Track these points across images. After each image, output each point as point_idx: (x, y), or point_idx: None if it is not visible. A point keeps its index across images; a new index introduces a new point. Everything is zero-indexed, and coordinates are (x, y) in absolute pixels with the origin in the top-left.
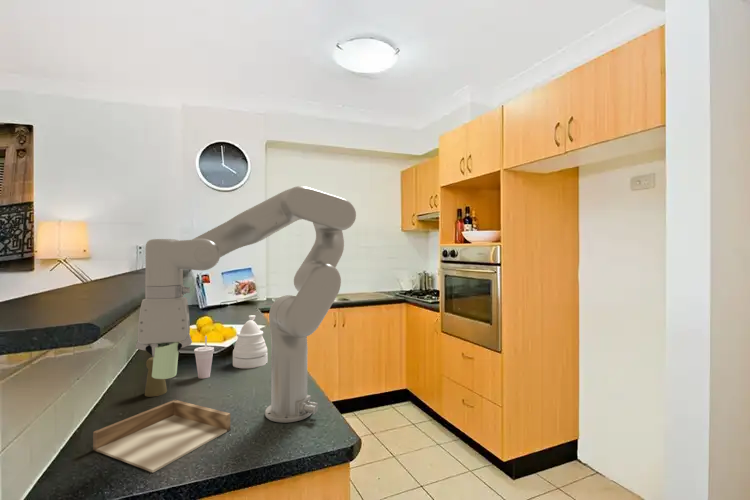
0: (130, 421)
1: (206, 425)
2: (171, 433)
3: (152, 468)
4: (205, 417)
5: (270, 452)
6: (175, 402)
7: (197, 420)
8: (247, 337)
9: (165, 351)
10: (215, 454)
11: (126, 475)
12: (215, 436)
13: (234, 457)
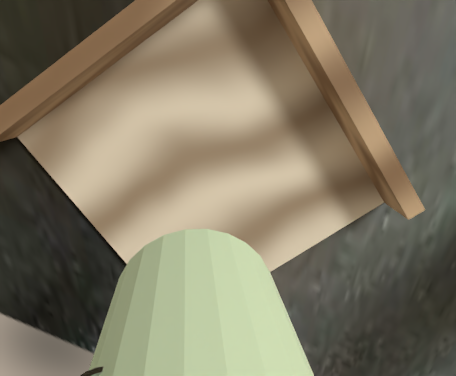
0: (86, 72)
1: (338, 137)
2: (229, 141)
3: None
4: (346, 124)
5: (433, 356)
6: None
7: (319, 86)
8: None
9: None
10: (321, 308)
11: None
12: (344, 226)
13: (356, 340)
